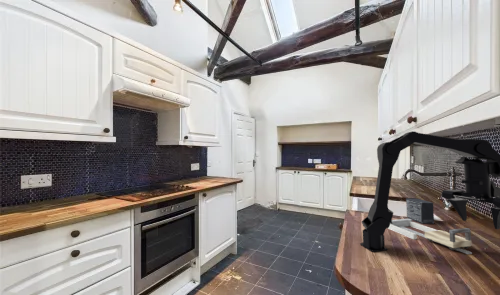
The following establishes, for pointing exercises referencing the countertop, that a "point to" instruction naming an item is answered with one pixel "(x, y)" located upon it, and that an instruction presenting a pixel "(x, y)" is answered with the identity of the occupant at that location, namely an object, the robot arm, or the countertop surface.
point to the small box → (420, 211)
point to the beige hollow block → (451, 238)
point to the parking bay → (400, 228)
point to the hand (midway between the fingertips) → (480, 224)
